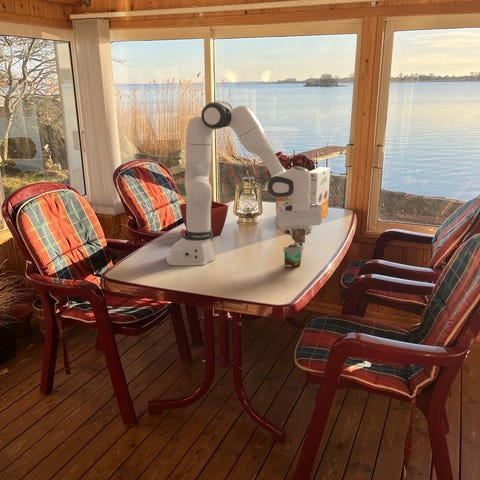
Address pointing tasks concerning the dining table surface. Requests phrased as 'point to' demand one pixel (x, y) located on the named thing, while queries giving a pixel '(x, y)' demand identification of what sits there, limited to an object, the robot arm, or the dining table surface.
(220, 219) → the plant pot
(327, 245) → the dining table surface
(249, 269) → the dining table surface
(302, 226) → the sea urchin shell
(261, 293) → the dining table surface
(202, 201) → the robot arm
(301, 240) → the walnut block
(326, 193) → the cereal box
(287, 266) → the food container
